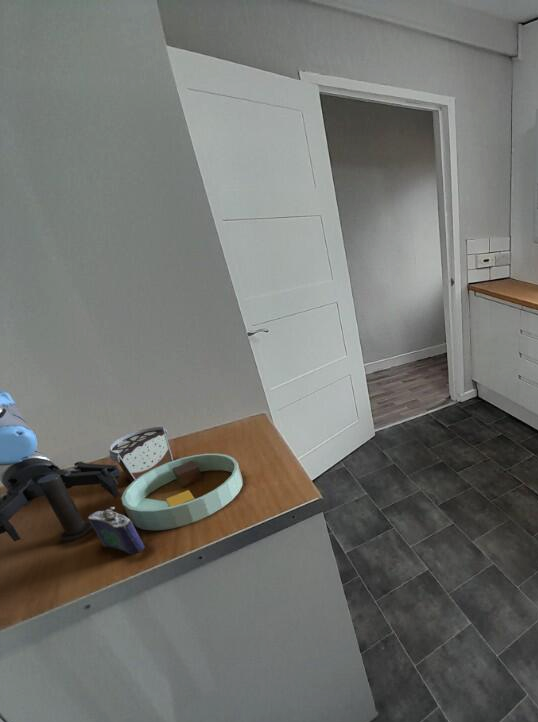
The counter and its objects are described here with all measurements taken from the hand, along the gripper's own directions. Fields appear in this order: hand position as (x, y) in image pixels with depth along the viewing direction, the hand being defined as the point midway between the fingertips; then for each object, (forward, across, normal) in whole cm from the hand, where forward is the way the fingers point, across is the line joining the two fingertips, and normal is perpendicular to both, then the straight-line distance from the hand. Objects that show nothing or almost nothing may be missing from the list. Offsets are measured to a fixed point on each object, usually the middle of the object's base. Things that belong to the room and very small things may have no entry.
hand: (68, 511), depth 75 cm
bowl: (+1, -17, -9) cm, 19 cm away
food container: (-19, -16, -9) cm, 27 cm away
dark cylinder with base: (-3, 0, -9) cm, 10 cm away
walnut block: (-5, -20, -8) cm, 22 cm away
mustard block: (+6, -14, -8) cm, 17 cm away
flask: (+9, -4, -9) cm, 13 cm away
